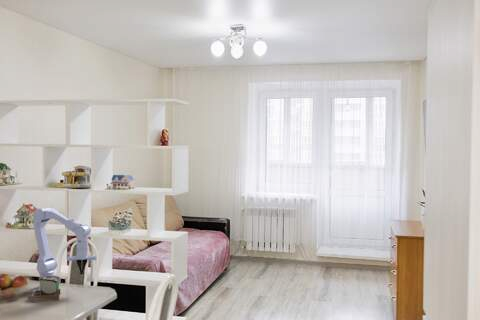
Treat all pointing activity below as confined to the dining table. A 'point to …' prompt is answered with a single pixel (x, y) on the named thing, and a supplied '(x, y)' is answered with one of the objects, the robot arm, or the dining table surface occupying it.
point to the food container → (49, 285)
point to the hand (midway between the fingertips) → (81, 273)
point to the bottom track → (43, 298)
